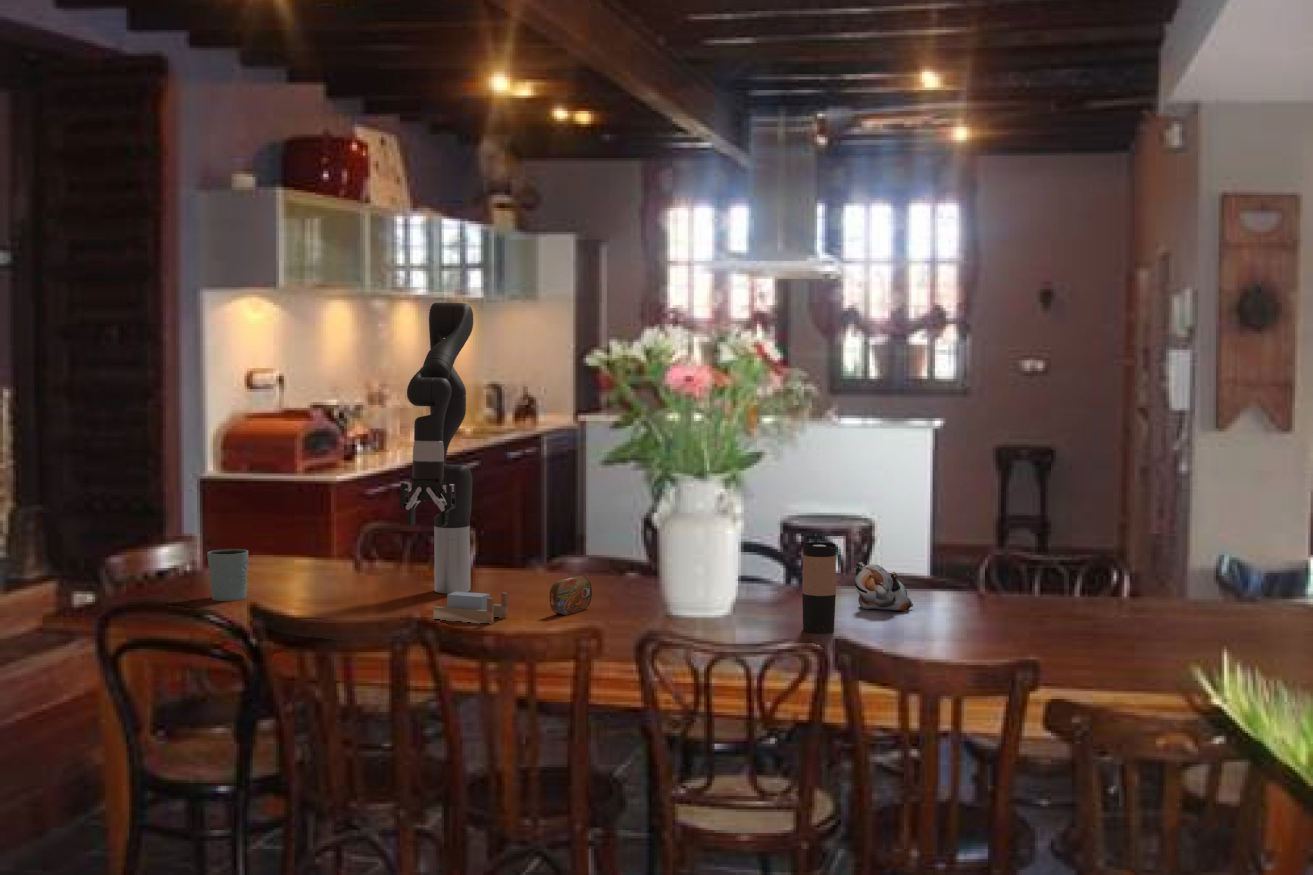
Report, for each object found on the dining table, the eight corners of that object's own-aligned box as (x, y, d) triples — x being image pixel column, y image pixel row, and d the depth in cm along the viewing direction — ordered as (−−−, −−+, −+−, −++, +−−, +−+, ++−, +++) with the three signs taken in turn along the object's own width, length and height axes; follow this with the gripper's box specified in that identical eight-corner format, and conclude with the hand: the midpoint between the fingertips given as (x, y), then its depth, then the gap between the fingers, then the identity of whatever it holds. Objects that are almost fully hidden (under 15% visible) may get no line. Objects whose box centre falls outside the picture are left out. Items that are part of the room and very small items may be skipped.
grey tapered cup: (237, 602, 384) (236, 554, 383) (200, 600, 386) (199, 553, 385) (255, 595, 394) (255, 549, 393) (219, 593, 396) (218, 547, 395)
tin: (557, 617, 367) (557, 582, 367) (546, 616, 369) (546, 581, 368) (593, 607, 380) (593, 574, 379) (582, 606, 382) (582, 573, 381)
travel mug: (799, 627, 357) (800, 541, 355) (831, 626, 357) (832, 541, 356) (805, 633, 349) (806, 546, 348) (838, 633, 350) (839, 546, 348)
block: (456, 616, 368) (456, 591, 368) (489, 618, 365) (489, 593, 365) (447, 619, 364) (447, 594, 364) (481, 622, 361) (481, 596, 361)
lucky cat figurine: (921, 611, 377) (907, 565, 371) (877, 631, 375) (863, 586, 369) (895, 584, 390) (881, 539, 384) (852, 604, 389) (838, 559, 382)
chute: (451, 613, 371) (451, 588, 371) (508, 617, 366) (508, 592, 366) (433, 619, 363) (433, 594, 363) (491, 624, 358) (491, 598, 357)
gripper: (461, 460, 374) (460, 526, 375) (410, 458, 379) (409, 523, 380) (446, 460, 367) (445, 528, 368) (394, 459, 372) (393, 525, 373)
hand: (427, 526), depth 374 cm, fingers open, 8 cm apart
